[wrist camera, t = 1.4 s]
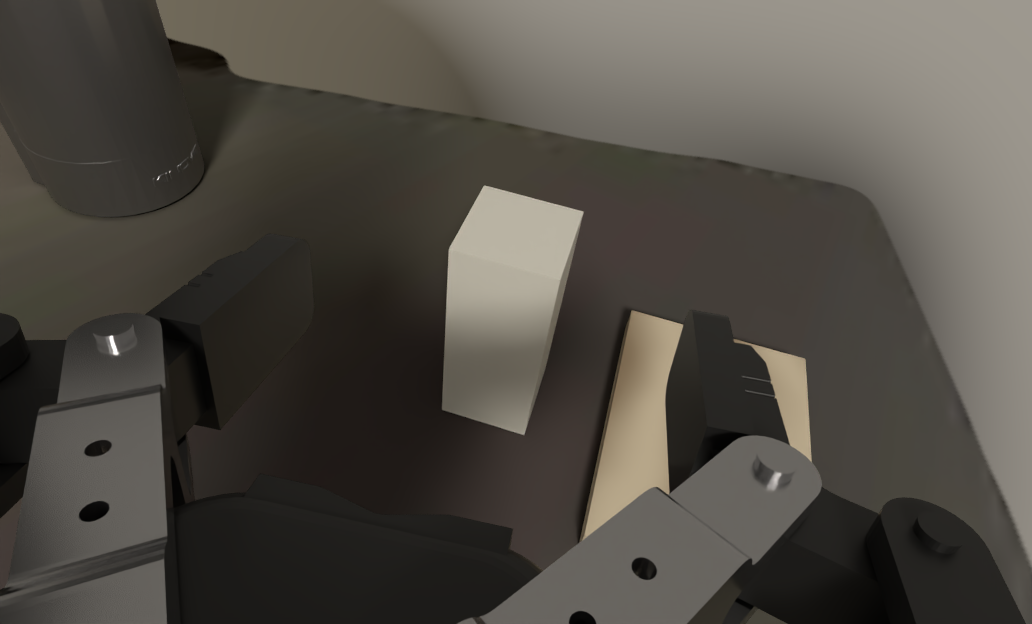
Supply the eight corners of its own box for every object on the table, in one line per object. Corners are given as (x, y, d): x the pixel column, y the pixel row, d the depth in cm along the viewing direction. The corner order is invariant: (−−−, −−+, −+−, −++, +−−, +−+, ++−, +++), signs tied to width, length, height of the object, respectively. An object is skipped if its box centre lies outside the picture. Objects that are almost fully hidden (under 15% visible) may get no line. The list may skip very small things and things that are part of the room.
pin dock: (577, 549, 27) (596, 509, 25) (625, 327, 37) (643, 279, 34) (803, 622, 26) (851, 590, 23) (793, 374, 36) (826, 330, 33)
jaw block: (441, 409, 32) (448, 248, 24) (469, 347, 35) (484, 185, 26) (524, 435, 31) (560, 280, 23) (545, 369, 34) (583, 211, 26)
